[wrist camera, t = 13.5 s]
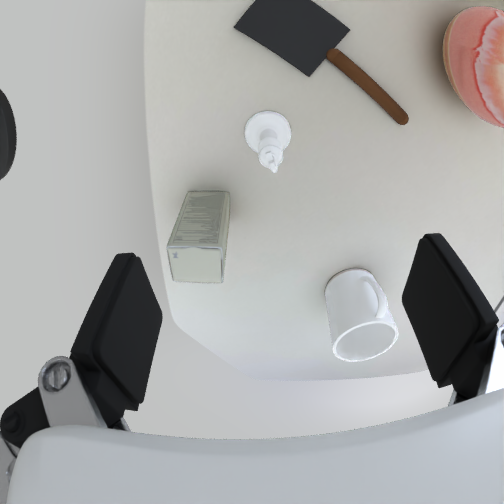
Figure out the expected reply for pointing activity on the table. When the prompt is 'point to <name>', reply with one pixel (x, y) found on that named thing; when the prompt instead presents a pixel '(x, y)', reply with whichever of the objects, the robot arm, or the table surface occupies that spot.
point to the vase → (477, 61)
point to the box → (200, 238)
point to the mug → (358, 316)
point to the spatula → (309, 42)
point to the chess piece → (268, 137)
